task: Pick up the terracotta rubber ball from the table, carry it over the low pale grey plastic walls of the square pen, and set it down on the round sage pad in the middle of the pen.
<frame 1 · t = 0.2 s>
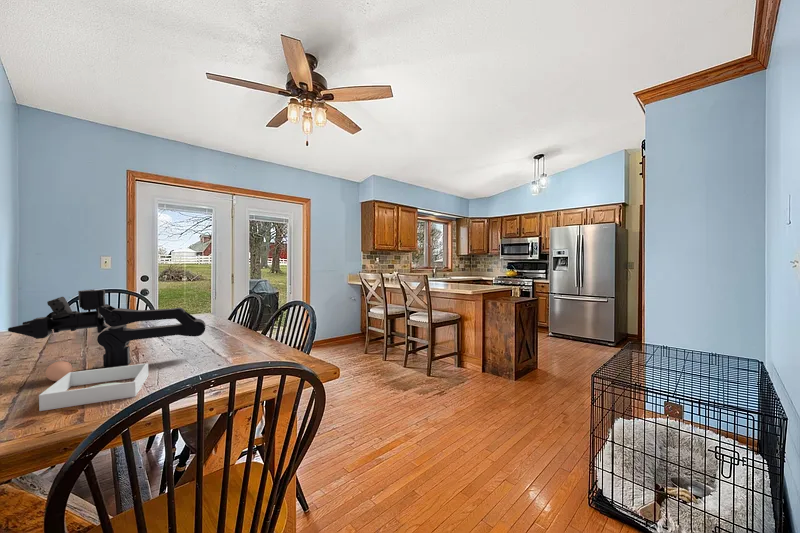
hand: (15, 326, 109), 16 cm above the table, tool horizontal, fingers open, 9 cm apart
walled pen: (101, 390, 98), on the table
ball: (59, 380, 106), on the table
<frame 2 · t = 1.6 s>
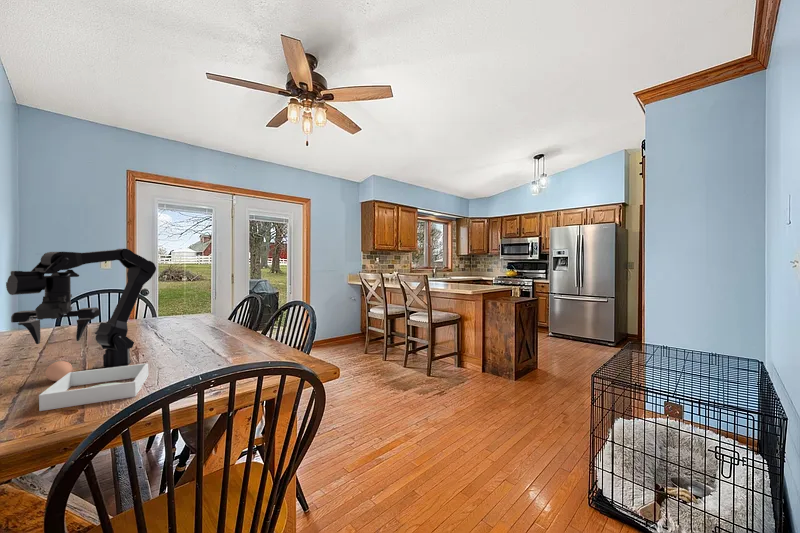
hand: (58, 342, 106), 12 cm above the table, tool pointing down, fingers open, 9 cm apart
nothing on the table moved.
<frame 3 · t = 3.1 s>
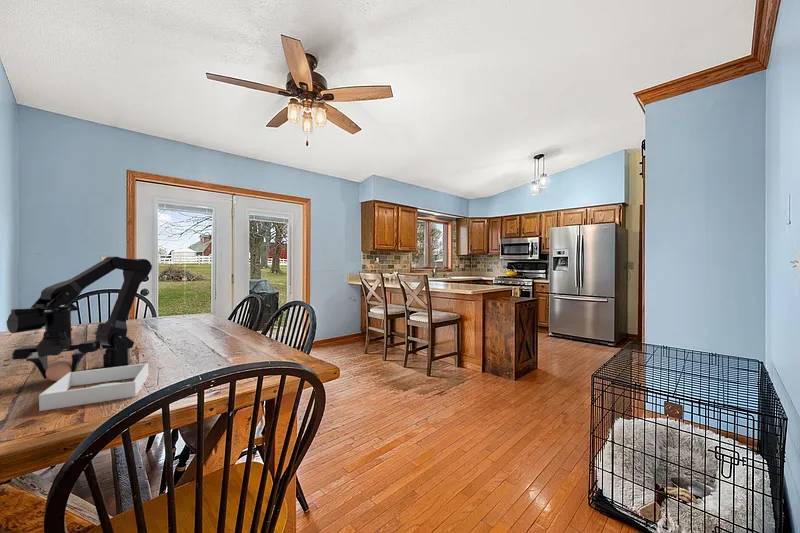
hand: (59, 376, 106), 1 cm above the table, tool pointing down, fingers closed on ball, 6 cm apart
ball: (59, 380, 106), on the table, touching gripper
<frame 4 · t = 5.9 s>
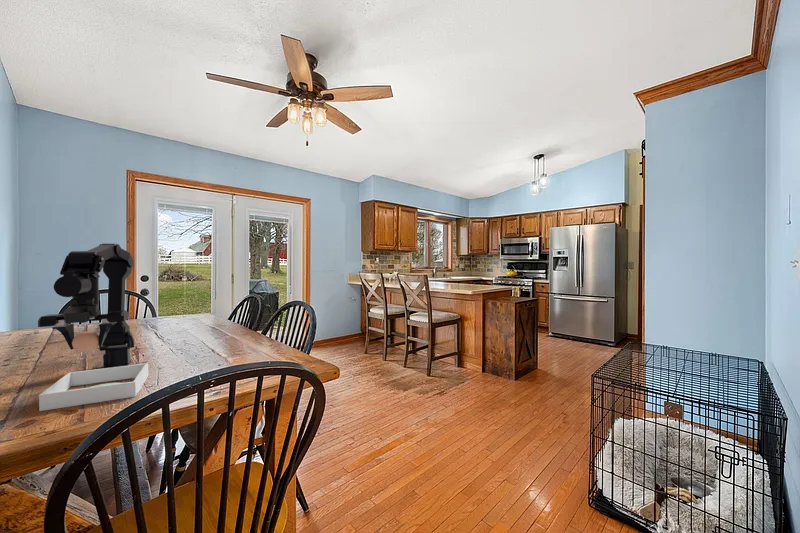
hand: (86, 347, 100), 12 cm above the table, tool pointing down, fingers closed on ball, 6 cm apart
ball: (86, 352, 100), point 11 cm above the table, touching gripper
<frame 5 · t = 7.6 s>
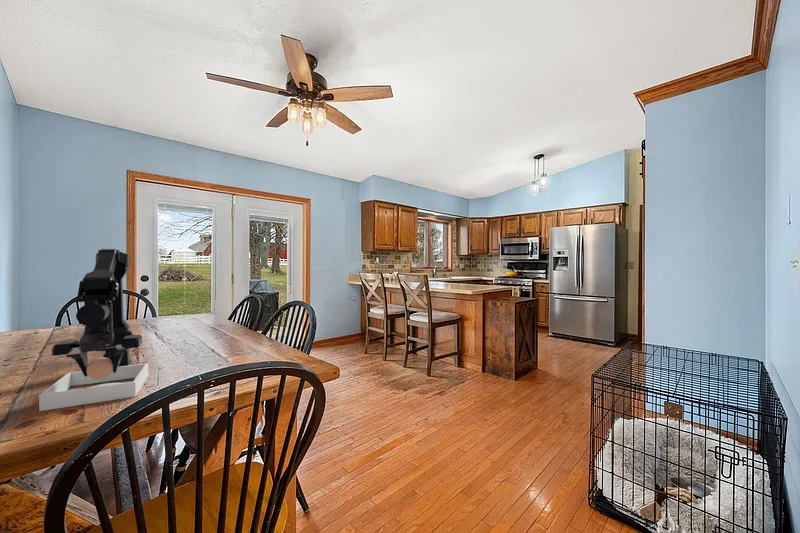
hand: (100, 374, 98), 5 cm above the table, tool pointing down, fingers closed on ball, 6 cm apart
ball: (100, 378, 98), point 4 cm above the table, touching gripper
when the fingers open (2 cm above the table, at t = 9.0 s): ball stays where it is, resting on walled pen.
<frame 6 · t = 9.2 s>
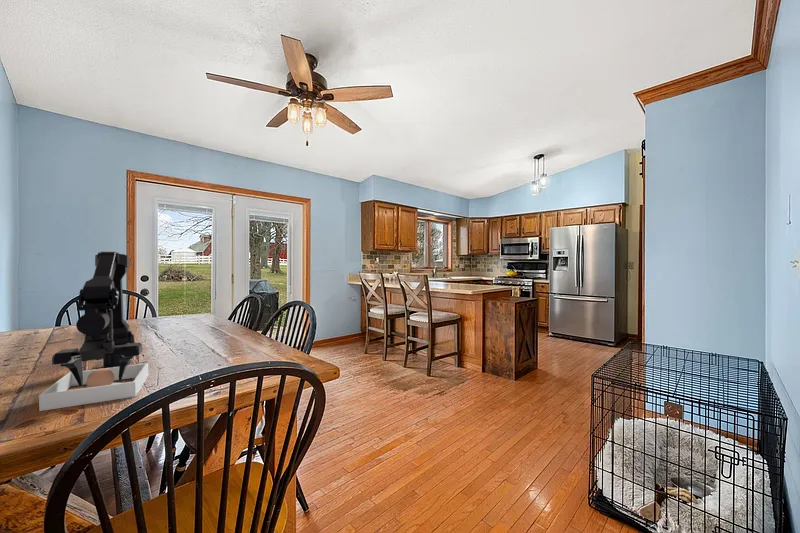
hand: (100, 382, 98), 2 cm above the table, tool pointing down, fingers open, 8 cm apart
ball: (101, 389, 98), resting on walled pen
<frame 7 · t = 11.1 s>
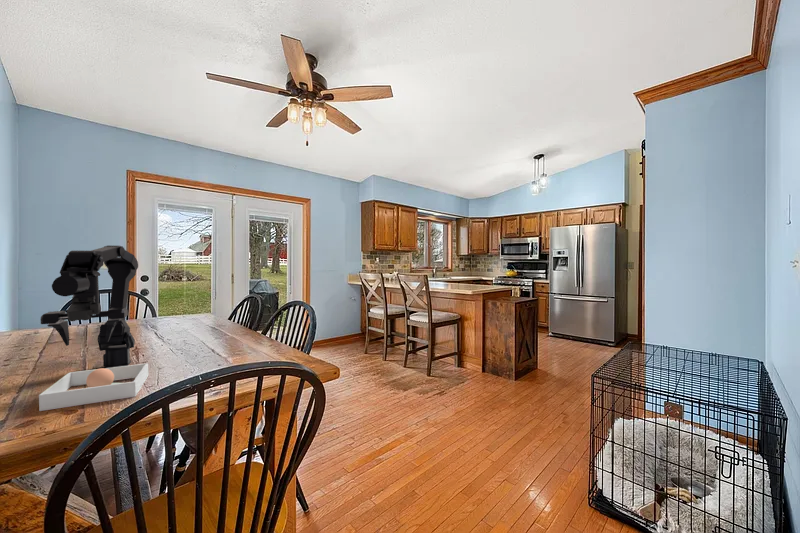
hand: (88, 343, 104), 12 cm above the table, tool pointing down, fingers open, 9 cm apart
nothing on the table moved.
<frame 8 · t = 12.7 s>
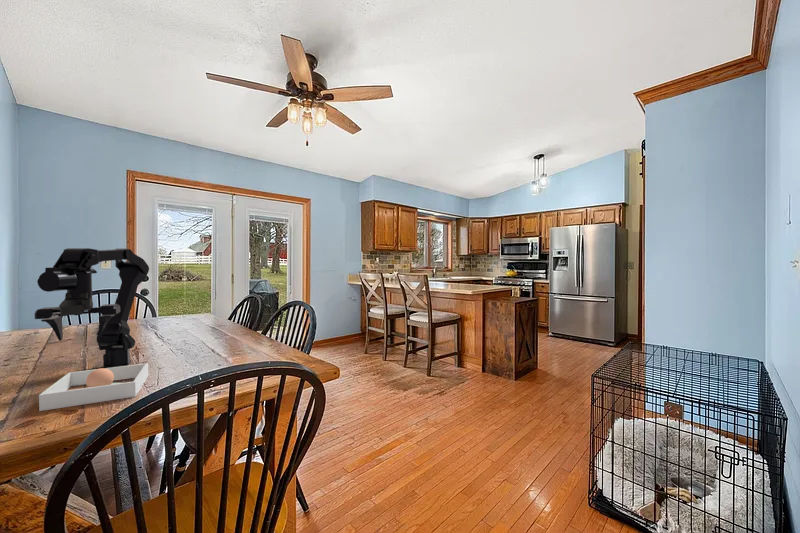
hand: (80, 338, 106), 13 cm above the table, tool pointing down, fingers open, 9 cm apart
nothing on the table moved.
at the end: ball 0.0 cm from the walled pen (horizontally); ball resting on walled pen; the gripper is holding nothing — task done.
